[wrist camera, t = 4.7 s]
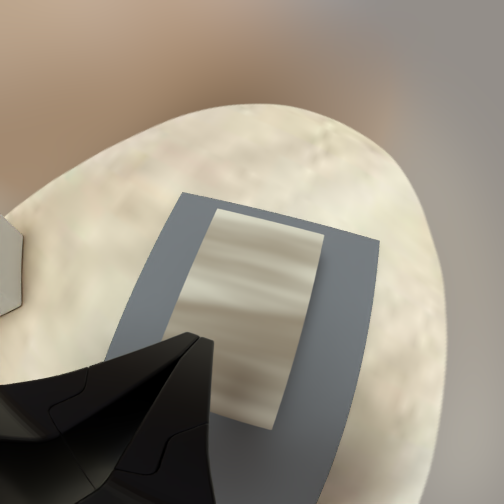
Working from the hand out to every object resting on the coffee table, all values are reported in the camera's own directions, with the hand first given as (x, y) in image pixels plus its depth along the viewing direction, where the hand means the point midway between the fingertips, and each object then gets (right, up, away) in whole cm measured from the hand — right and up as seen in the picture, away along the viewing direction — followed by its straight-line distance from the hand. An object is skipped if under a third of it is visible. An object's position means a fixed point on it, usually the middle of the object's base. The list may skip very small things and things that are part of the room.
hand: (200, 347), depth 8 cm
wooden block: (-1, -5, +4) cm, 6 cm away
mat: (0, -3, +7) cm, 8 cm away
